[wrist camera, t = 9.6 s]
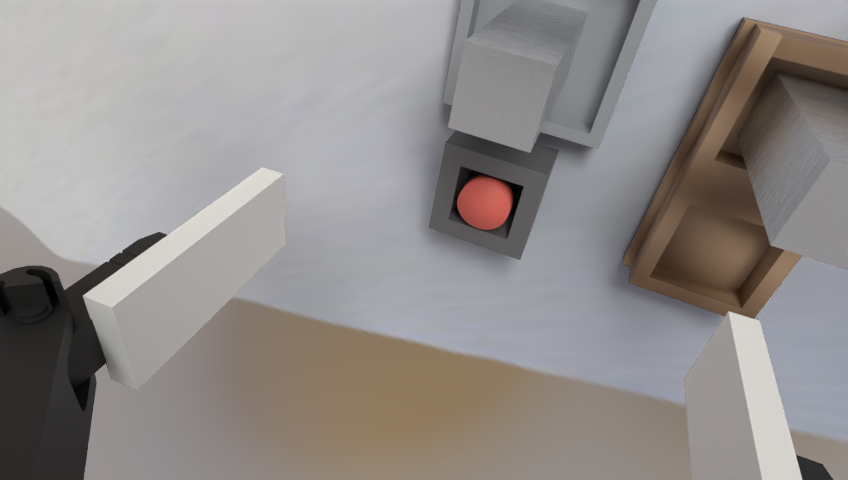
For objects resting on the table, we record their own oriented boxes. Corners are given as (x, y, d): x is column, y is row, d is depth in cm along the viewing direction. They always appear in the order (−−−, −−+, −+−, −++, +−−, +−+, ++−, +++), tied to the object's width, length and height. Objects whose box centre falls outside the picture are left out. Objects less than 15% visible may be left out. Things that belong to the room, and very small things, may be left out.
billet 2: (774, 70, 28) (831, 159, 19) (854, 90, 28) (954, 194, 18) (736, 136, 31) (770, 245, 21) (809, 157, 30) (877, 278, 21)
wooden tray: (743, 17, 28) (751, 28, 26) (927, 60, 27) (952, 77, 24) (623, 256, 39) (621, 280, 36) (751, 299, 37) (757, 327, 35)
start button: (469, 166, 36) (463, 175, 35) (519, 182, 35) (514, 192, 34) (459, 209, 38) (452, 219, 37) (506, 225, 37) (501, 236, 36)
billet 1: (522, -5, 31) (464, 40, 22) (588, 11, 31) (557, 65, 21) (506, 61, 34) (447, 127, 24) (566, 77, 33) (530, 152, 24)
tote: (484, -80, 30) (475, -79, 29) (670, -39, 28) (670, -35, 27) (451, 94, 37) (442, 102, 35) (600, 138, 35) (597, 149, 33)
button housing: (463, 121, 37) (445, 142, 34) (558, 150, 36) (549, 175, 33) (446, 202, 42) (429, 227, 39) (530, 231, 40) (520, 259, 37)
